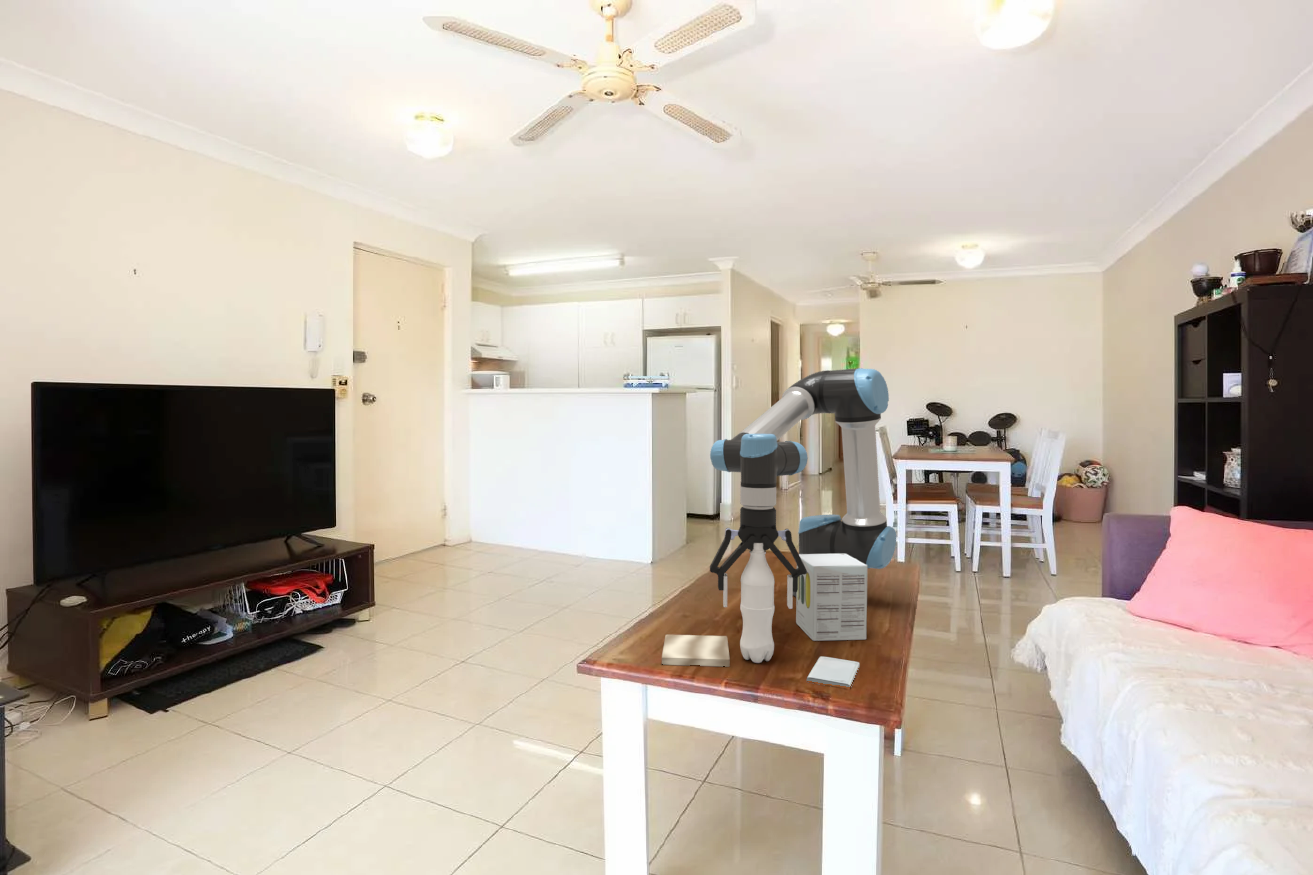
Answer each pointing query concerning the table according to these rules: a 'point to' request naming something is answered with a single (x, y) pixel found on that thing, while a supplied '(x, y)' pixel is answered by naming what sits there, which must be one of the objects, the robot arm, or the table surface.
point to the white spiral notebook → (833, 671)
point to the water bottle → (757, 607)
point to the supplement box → (832, 597)
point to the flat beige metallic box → (696, 650)
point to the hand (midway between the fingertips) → (757, 606)
